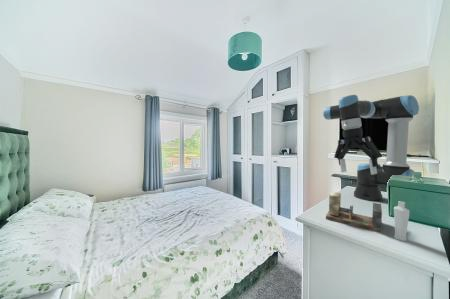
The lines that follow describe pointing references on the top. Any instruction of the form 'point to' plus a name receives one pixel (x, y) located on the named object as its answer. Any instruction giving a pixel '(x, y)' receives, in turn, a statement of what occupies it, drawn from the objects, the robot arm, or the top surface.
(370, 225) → the base
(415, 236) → the top surface
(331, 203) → the gauge plunger
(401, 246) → the top surface
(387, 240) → the top surface
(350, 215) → the peak needle
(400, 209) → the perfume bottle
